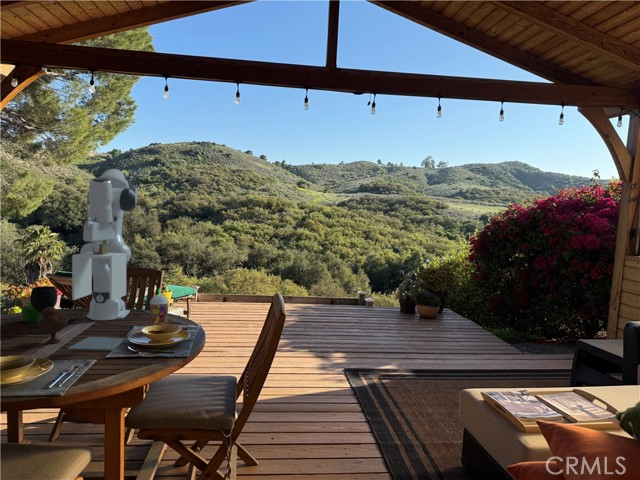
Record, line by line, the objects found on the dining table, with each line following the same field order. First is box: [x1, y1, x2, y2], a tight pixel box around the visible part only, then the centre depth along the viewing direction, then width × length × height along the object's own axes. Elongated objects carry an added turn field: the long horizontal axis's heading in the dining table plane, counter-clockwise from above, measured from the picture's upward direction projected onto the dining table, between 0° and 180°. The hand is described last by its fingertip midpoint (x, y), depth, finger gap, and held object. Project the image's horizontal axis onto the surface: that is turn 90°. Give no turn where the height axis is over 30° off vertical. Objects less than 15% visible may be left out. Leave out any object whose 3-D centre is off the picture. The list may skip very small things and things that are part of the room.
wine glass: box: [29, 285, 58, 335], centre depth 192 cm, size 10×10×20 cm
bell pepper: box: [21, 301, 42, 324], centre depth 209 cm, size 8×8×10 cm
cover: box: [71, 244, 127, 301], centre depth 175 cm, size 13×16×22 cm
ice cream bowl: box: [36, 306, 69, 345], centre depth 177 cm, size 11×11×15 cm
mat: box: [66, 336, 125, 352], centre depth 176 cm, size 16×18×1 cm
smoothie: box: [149, 288, 170, 327], centre depth 199 cm, size 8×8×20 cm
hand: (100, 251), depth 174 cm, fingers closed on cover, 4 cm apart
